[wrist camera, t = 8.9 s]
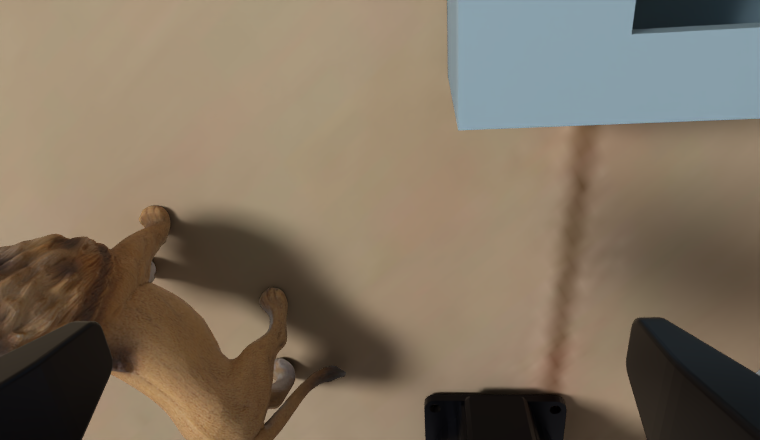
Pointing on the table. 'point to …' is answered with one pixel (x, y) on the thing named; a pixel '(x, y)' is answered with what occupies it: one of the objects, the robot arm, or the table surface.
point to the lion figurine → (152, 331)
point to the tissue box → (602, 61)
